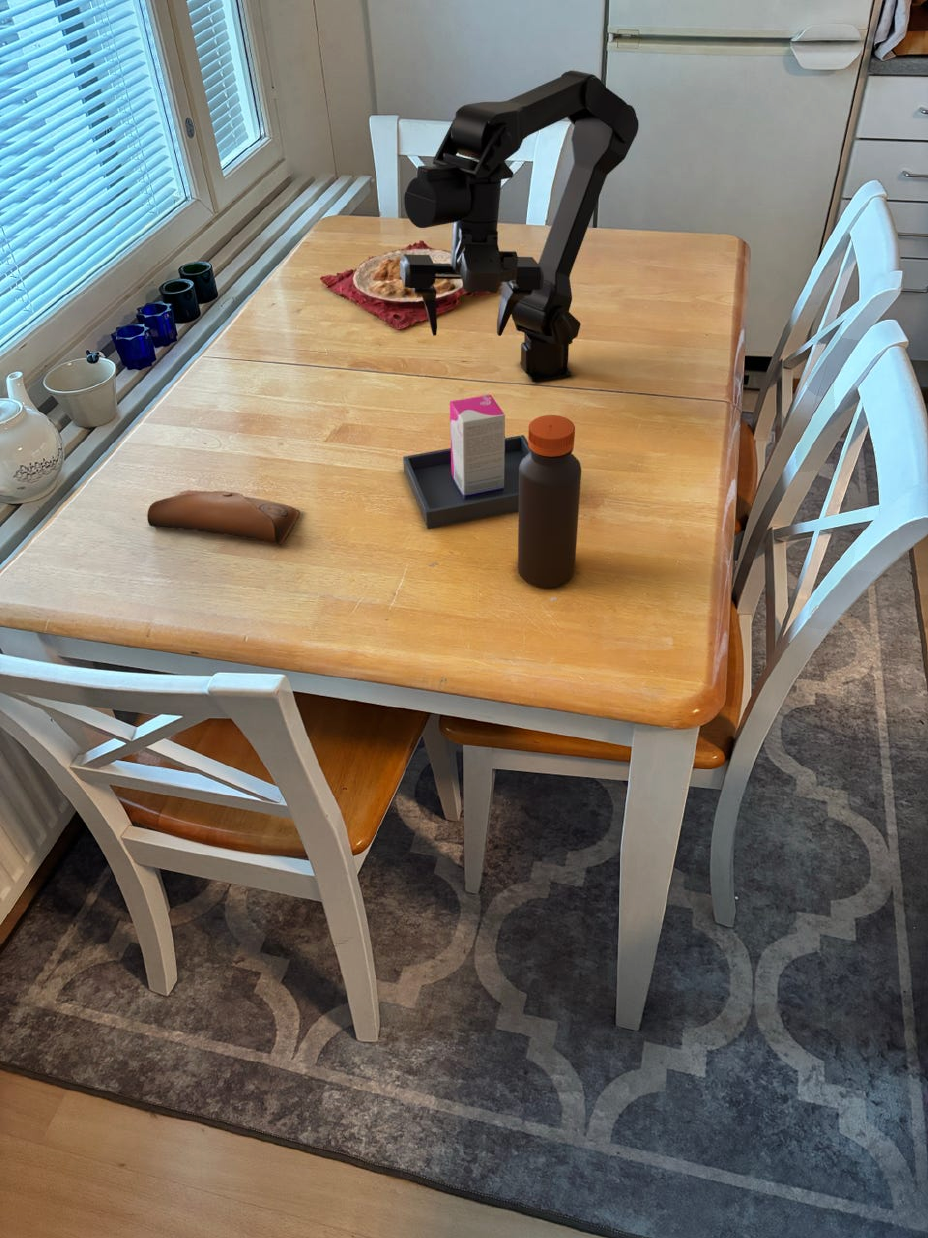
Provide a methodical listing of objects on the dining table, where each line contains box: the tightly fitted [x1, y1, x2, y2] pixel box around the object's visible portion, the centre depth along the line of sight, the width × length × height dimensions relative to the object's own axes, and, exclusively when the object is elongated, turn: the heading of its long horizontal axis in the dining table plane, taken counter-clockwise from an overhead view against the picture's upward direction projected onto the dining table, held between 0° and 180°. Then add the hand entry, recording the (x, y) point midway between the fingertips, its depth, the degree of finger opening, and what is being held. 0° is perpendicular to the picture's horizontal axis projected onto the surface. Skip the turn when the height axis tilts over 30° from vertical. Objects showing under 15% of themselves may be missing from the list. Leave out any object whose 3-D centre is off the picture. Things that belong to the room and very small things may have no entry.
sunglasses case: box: [146, 489, 301, 545], centre depth 121 cm, size 18×7×7 cm
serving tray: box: [402, 434, 530, 530], centre depth 125 cm, size 17×13×3 cm
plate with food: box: [319, 239, 502, 330], centre depth 171 cm, size 24×26×4 cm
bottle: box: [517, 414, 582, 589], centre depth 106 cm, size 7×7×20 cm
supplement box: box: [449, 394, 506, 499], centre depth 122 cm, size 6×6×12 cm
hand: (466, 334), depth 131 cm, fingers open, 9 cm apart
